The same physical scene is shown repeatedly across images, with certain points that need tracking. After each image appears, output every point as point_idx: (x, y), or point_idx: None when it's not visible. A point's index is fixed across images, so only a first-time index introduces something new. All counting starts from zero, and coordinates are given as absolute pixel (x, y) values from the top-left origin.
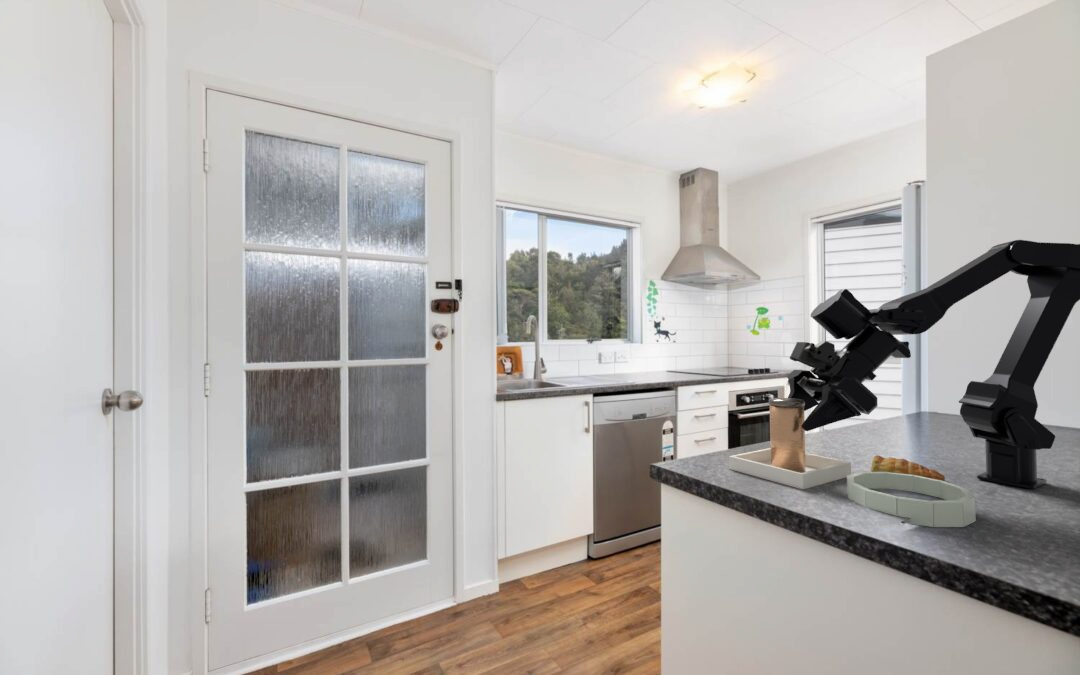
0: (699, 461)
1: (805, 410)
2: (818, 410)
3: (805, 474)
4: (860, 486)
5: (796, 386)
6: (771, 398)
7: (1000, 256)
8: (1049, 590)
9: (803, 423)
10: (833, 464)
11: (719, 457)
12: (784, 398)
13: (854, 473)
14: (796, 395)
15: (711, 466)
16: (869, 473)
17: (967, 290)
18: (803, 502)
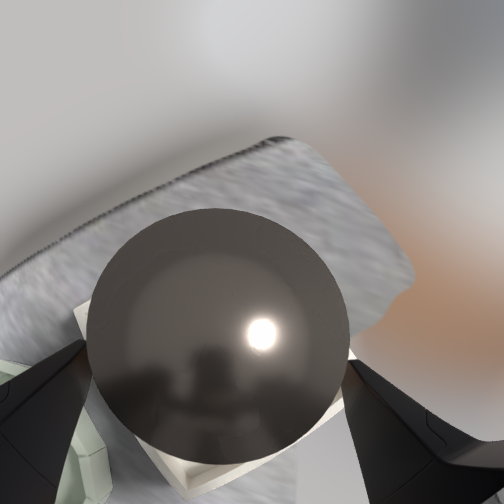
0: (343, 210)
1: (367, 490)
2: (5, 384)
3: (77, 320)
4: (5, 367)
5: (474, 484)
6: (307, 253)
7: None
8: None
9: (77, 346)
10: (214, 474)
11: (383, 262)
12: (307, 353)
13: (76, 434)
14: (427, 472)
15: (305, 219)
16: (80, 466)
17: None
18: (59, 294)
